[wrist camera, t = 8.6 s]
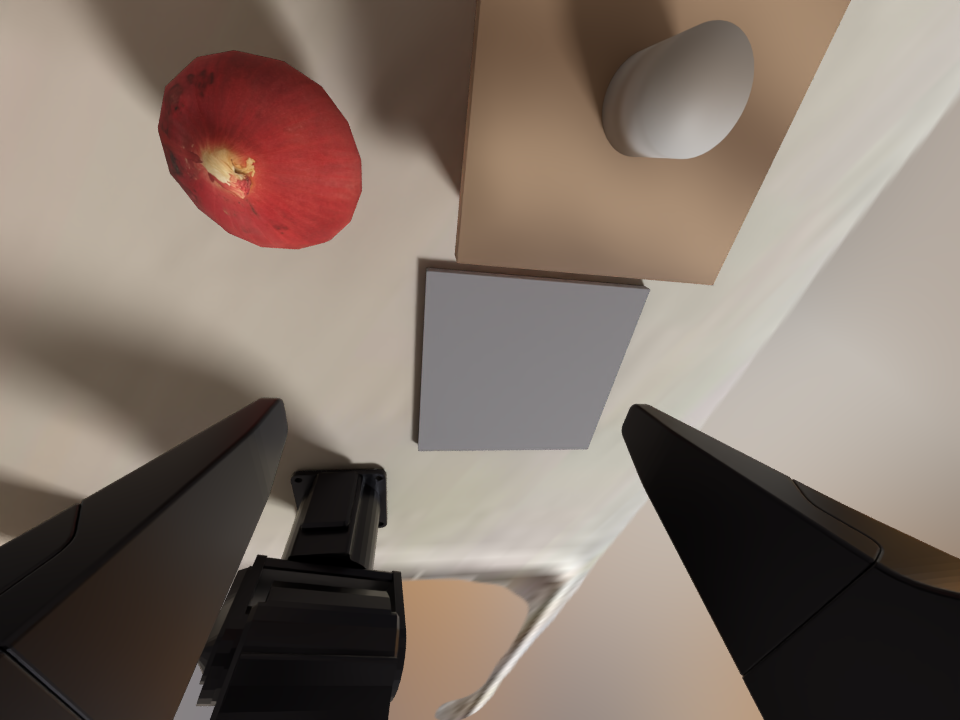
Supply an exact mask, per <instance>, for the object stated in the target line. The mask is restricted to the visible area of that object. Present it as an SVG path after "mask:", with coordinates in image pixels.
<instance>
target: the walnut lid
mask: <svg viewBox="0 0 960 720" xmlns="http://www.w3.org/2000/svg"><path fill="white" fill-rule="evenodd" d="M850 1H851V0H477V1H476V13H475V24H474V36H473V48H472V59H471V71H470V83H469V94H468V106H467V118H466V129H465V141H464V153H463V164H462V176H461V188H460V199H459V211H458V223H457V235H456V246H455V257H456V261H457V263H462V264H474V265H485V266H497V267H508V268H520V269H532V270H543V271H555V272H566V273H578V274H589V275H601V276H612V277H624V278H636V279H647V280H659V281H670V282H682V283H693V284H705V285H713V284H714V282H715V280H716V278H717V276H718V273H719V271H720V269H721V267H722V265H723V263H724V261H725V259H726V257H727V255H728V253H729V251H730V249H731V247H732V245H733V243H734V240H735V238H736V236H737V234H738V232H739V230H740V228H741V226H742V224H743V222H744V220H745V218H746V216H747V214H748V212H749V209H750V207H751V205H752V203H753V201H754V199H755V197H756V195H757V193H758V191H759V189H760V187H761V185H762V183H763V181H764V179H765V176H766V174H767V172H768V170H769V168H770V166H771V164H772V162H773V160H774V158H775V156H776V154H777V152H778V150H779V148H780V145H781V143H782V141H783V139H784V137H785V135H786V133H787V131H788V129H789V127H790V125H791V123H792V121H793V119H794V117H795V115H796V112H797V110H798V108H799V106H800V104H801V102H802V100H803V98H804V96H805V94H806V92H807V90H808V88H809V86H810V84H811V81H812V79H813V77H814V75H815V73H816V71H817V69H818V67H819V65H820V63H821V61H822V59H823V57H824V55H825V53H826V51H827V48H828V46H829V44H830V42H831V40H832V38H833V36H834V34H835V32H836V30H837V28H838V26H839V24H840V22H841V20H842V17H843V15H844V13H845V11H846V9H847V7H848V5H849V3H850Z"/></svg>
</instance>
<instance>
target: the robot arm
mask: <svg viewBox="0 0 960 720" xmlns="http://www.w3.org/2000/svg"><path fill="white" fill-rule="evenodd" d="M287 433H288V425H287V419H286V413H285V408H284V403H283V401H282V400H281V399H280V398H260V399H258V400H257V401H255V402H253V403H251V404H250V405H248V406H246V407H244V408H243V409H241V410H239V411H237V412H236V413H234V414H232V415H230V416H229V417H227V418H225V419H223V420H222V421H220V422H218V423H216V424H215V425H213V426H211V427H209V428H208V429H206V430H204V431H202V432H201V433H199V434H197V435H195V436H194V437H192V438H190V439H188V440H187V441H185V442H183V443H181V444H180V445H178V446H176V447H174V448H173V449H171V450H169V451H168V452H166V453H164V454H162V455H161V456H159V457H157V458H155V459H154V460H152V461H150V462H148V463H147V464H145V465H143V466H141V467H140V468H138V469H136V470H134V471H133V472H131V473H129V474H127V475H126V476H124V477H122V478H120V479H119V480H117V481H115V482H113V483H112V484H110V485H108V486H106V487H105V488H103V489H101V490H99V491H98V492H96V493H94V494H92V495H91V496H89V497H87V498H85V499H84V500H82V502H81V504H75V505H73V506H71V507H70V508H68V509H66V510H64V511H63V512H61V513H59V514H57V515H56V516H54V517H52V518H50V519H49V520H47V521H45V522H43V523H41V524H40V525H38V526H36V527H34V528H32V529H31V530H29V531H27V532H25V533H23V534H22V535H20V536H18V537H16V538H14V539H13V540H11V541H9V542H7V543H5V544H4V545H2V546H0V720H173V719H174V716H175V714H176V712H177V709H178V707H179V705H180V702H181V700H182V698H183V695H184V693H185V691H186V688H187V686H188V684H189V681H190V679H191V677H192V674H193V672H194V670H195V667H196V665H197V663H198V665H199V666H200V669H201V671H202V674H203V675H202V678H201V681H200V684H204V685H203V687H202V690H201V693H200V696H199V698H198V701H197V704H196V706H215V707H214V710H213V713H212V715H211V718H210V720H388V715H389V706H390V702H391V701H392V700H393V698H394V697H395V695H396V692H397V690H398V687H399V683H400V680H401V676H402V671H403V666H404V659H405V651H406V625H405V614H404V603H403V590H402V579H401V572H399V571H392V572H386V571H377V570H373V565H374V557H375V548H376V540H377V532H378V528H382V527H385V526H386V525H387V477H386V472H385V471H384V470H380V469H374V470H324V471H296V472H294V473H293V475H292V477H291V484H292V488H293V492H294V497H295V501H296V506H297V510H298V512H297V515H296V518H295V521H294V524H293V527H292V529H291V532H290V535H289V538H288V541H287V544H286V547H285V549H284V552H283V555H282V558H281V559H276V558H267V556H265V555H257V557H256V559H255V562H254V564H253V566H250V567H248V568H245V569H242V570H239V571H238V573H237V575H236V572H237V570H238V568H239V565H240V563H241V561H242V558H243V556H244V554H245V551H246V549H247V547H248V544H249V542H250V540H251V537H252V535H253V533H254V530H255V528H256V526H257V523H258V521H259V519H260V516H261V514H262V512H263V509H264V507H265V505H266V502H267V500H268V497H269V494H270V491H271V488H272V485H273V482H274V478H275V475H276V471H277V468H278V465H279V461H280V458H281V454H282V451H283V448H284V444H285V441H286V437H287ZM622 435H623V438H624V441H625V443H626V446H627V448H628V451H629V453H630V456H631V458H632V461H633V463H634V466H635V468H636V471H637V473H638V475H639V478H640V480H641V482H642V485H643V487H644V489H645V491H646V493H647V495H648V497H649V499H650V500H651V502H652V504H653V506H654V508H655V510H656V512H657V514H658V516H659V518H660V520H661V522H662V524H663V526H664V527H665V529H666V531H667V533H668V535H669V537H670V539H671V541H672V543H673V545H674V547H675V549H676V550H677V552H678V554H679V556H680V558H681V560H682V562H683V564H684V566H685V568H686V570H687V572H688V574H689V576H690V578H691V580H692V581H693V583H694V585H695V587H696V589H697V591H698V593H699V595H700V597H701V599H702V601H703V603H704V605H705V606H706V608H707V610H708V612H709V614H710V616H711V618H712V620H713V622H714V624H715V626H716V628H717V630H718V632H719V633H720V635H721V637H722V639H723V641H724V643H725V645H726V647H727V649H728V651H729V653H730V655H731V657H732V658H733V660H734V662H735V664H736V666H737V668H738V670H739V672H740V674H741V675H742V676H743V677H742V678H743V680H744V682H745V684H746V686H747V688H748V690H749V692H750V694H751V696H752V698H753V700H754V702H755V704H756V706H757V707H758V709H759V711H760V713H761V715H762V717H763V719H764V720H960V559H959V558H957V557H954V556H952V555H950V554H948V553H946V552H943V551H941V550H939V549H937V548H935V547H933V546H931V545H928V544H926V543H924V542H922V541H920V540H918V539H916V538H914V537H911V536H909V535H907V534H905V533H903V532H901V531H899V530H897V529H894V528H892V527H890V526H888V525H886V524H884V523H882V522H879V521H877V520H875V519H873V518H871V517H869V516H867V515H865V514H863V513H861V512H859V511H856V510H854V509H852V508H850V507H848V506H846V505H844V504H842V503H840V502H838V501H836V500H834V499H832V498H830V497H828V496H826V495H824V494H822V493H820V492H818V491H816V490H814V489H812V488H810V487H808V486H806V485H804V484H802V483H800V482H798V481H796V480H794V479H793V480H792V479H791V478H790V477H788V476H786V475H784V474H783V473H781V472H779V471H777V470H775V469H772V468H771V467H769V466H767V465H765V464H763V463H761V462H759V461H757V460H755V459H753V458H751V457H749V456H747V455H745V454H744V453H742V452H739V451H738V450H735V449H734V448H732V447H730V446H728V445H726V444H724V443H722V442H720V441H718V440H716V439H714V438H712V437H710V436H708V435H706V434H705V433H703V432H701V431H699V430H697V429H695V428H693V427H691V426H689V425H687V424H685V423H683V422H681V421H679V420H677V419H675V418H673V417H671V416H669V415H668V414H666V413H664V412H662V411H660V410H658V409H656V408H654V407H652V406H650V405H647V404H634V405H632V406H631V407H630V409H629V412H628V414H627V416H626V419H625V421H624V423H623V426H622ZM235 575H236V577H235ZM234 577H235V579H234ZM233 579H234V582H233ZM232 582H233V584H232ZM231 584H232V586H231ZM230 586H231V588H230ZM229 588H230V591H229ZM228 591H229V593H228ZM227 593H228V595H227ZM226 595H227V598H226ZM225 598H226V600H225ZM224 600H225V602H224ZM223 602H224V604H223ZM222 605H223V606H222ZM221 607H222V608H221ZM220 609H221V610H220Z"/></svg>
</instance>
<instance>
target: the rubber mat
mask: <svg viewBox="0 0 960 720" xmlns="http://www.w3.org/2000/svg"><path fill="white" fill-rule="evenodd" d="M649 292H650V289H649V288H647V287H645V286H638V285H626V284H614V283H602V282H590V281H578V280H567V279H555V278H543V277H531V276H519V275H507V274H495V273H484V272H472V271H460V270H448V269H436V268H427V269H426V290H425V311H424V333H423V354H422V375H421V397H420V418H419V439H418V451H474V450H566V449H588V447H589V444H590V442H591V439H592V437H593V434H594V432H595V429H596V427H597V424H598V421H599V419H600V416H601V414H602V411H603V409H604V406H605V404H606V401H607V399H608V396H609V393H610V391H611V388H612V386H613V383H614V381H615V378H616V376H617V373H618V371H619V368H620V365H621V363H622V360H623V358H624V355H625V353H626V350H627V348H628V345H629V343H630V340H631V337H632V335H633V332H634V330H635V327H636V325H637V322H638V320H639V317H640V315H641V312H642V309H643V307H644V304H645V302H646V299H647V297H648V294H649Z"/></svg>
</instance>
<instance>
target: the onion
mask: <svg viewBox="0 0 960 720" xmlns="http://www.w3.org/2000/svg"><path fill="white" fill-rule="evenodd" d="M158 132H159V136H160V139H161V143H162V146H163V150H164V154H165V157H166V161H167V164H168V168H169V171H170V174H171V175H172V176H173V177H174V179H175V180H176V181H177V182H178V183H179V185H180V186H181V187H182V188H183V190H184V191H185V192H186V193H187V195H188V196H189V197H190V199H191V200H192V201H193V202H194V204H195V205H196V206H197V208H198V209H199V210H201V211H202V212H203V213H205V214H206V215H207V216H208V217H210V218H211V219H212V220H213V221H215V222H216V223H217V224H218V225H220V226H221V227H222V228H223V229H224V230H225V231H227V232H228V233H230V234H232V235H234V236H237V237H239V238H242V239H244V240H246V241H249V242H251V243H253V244H256V245H258V246H260V247H270V248H286V249H301V248H305V247H309V246H313V245H317V244H321V243H325V242H327V241H329V240H331V239H332V238H333V237H334V236H335V235H336V234H337V233H338V232H340V231H341V230H342V229H343V228H344V227H345V226H346V225H347V224H348V223H349V222H350V221H351V219H352V216H353V213H354V211H355V208H356V205H357V202H358V200H359V197H360V195H361V192H362V172H361V158H360V155H359V152H358V149H357V147H356V144H355V141H354V138H353V135H352V132H351V129H350V126H349V124H348V122H347V120H346V119H345V117H344V116H343V115H342V113H341V112H340V111H339V109H338V108H337V107H336V105H335V104H334V102H333V101H332V100H331V98H330V97H329V96H328V94H327V93H326V92H325V90H324V89H323V87H322V86H320V85H319V84H317V83H316V82H314V81H313V80H311V79H310V78H308V77H307V76H305V75H304V74H302V73H301V72H299V71H298V70H296V69H295V68H293V67H292V66H290V65H289V64H287V63H286V62H283V61H280V60H276V59H272V58H267V57H263V56H258V55H253V54H249V53H244V52H240V51H235V50H233V51H227V52H222V53H217V54H211V55H206V56H200V57H197V58H195V59H194V60H193V61H192V62H191V63H190V64H189V65H188V66H187V67H185V68H184V69H183V70H182V71H181V72H180V73H179V74H178V75H177V76H176V77H175V78H174V79H173V80H172V81H171V82H170V83H169V84H168V85H167V86H165V91H164V96H163V102H162V108H161V113H160V119H159V124H158Z"/></svg>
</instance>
